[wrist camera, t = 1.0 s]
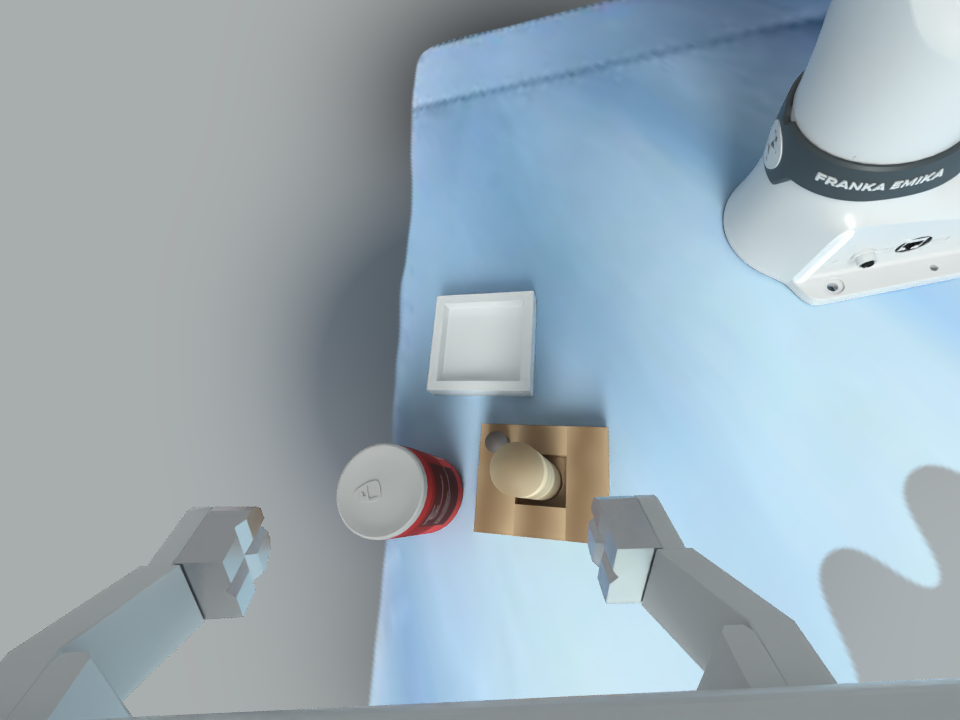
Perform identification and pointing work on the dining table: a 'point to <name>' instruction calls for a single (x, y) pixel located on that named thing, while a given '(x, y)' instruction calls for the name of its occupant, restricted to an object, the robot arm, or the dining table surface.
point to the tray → (484, 345)
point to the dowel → (524, 473)
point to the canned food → (397, 492)
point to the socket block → (583, 479)
